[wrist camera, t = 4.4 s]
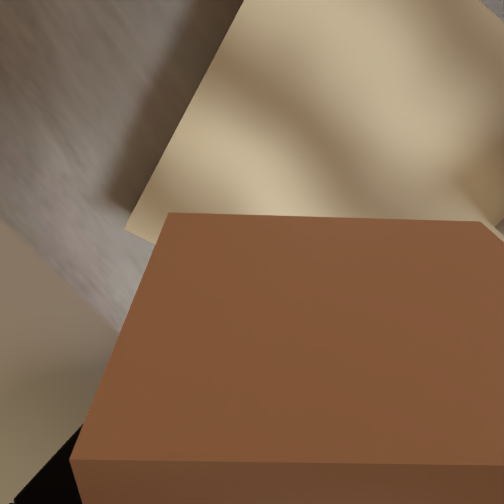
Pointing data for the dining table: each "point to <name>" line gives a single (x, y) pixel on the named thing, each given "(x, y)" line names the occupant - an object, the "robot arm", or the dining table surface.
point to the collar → (305, 367)
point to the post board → (342, 117)
